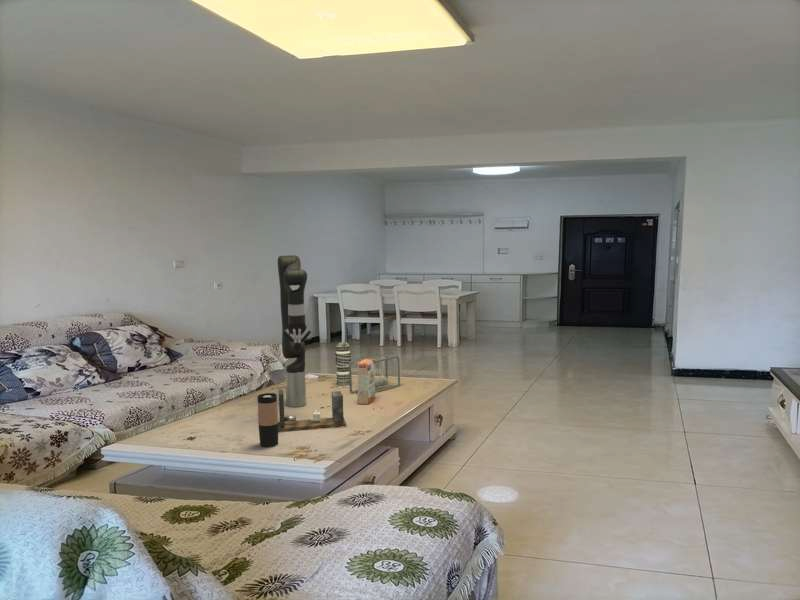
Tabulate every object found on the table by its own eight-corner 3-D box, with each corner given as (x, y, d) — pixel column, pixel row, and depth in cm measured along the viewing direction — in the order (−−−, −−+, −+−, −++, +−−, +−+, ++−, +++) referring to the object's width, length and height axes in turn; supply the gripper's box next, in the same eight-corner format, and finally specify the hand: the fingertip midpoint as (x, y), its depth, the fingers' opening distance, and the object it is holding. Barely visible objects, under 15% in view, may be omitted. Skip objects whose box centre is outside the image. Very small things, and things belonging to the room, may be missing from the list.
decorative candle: (345, 388, 341) (344, 344, 339) (332, 387, 346) (331, 343, 344) (355, 385, 348) (354, 342, 346) (342, 383, 353) (341, 341, 351)
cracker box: (369, 404, 302) (368, 363, 301) (357, 404, 303) (356, 363, 302) (376, 398, 316) (374, 358, 314) (364, 398, 317) (363, 358, 316)
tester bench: (271, 432, 259) (270, 401, 258) (271, 425, 269) (270, 395, 268) (346, 426, 265) (345, 396, 264) (343, 419, 276) (342, 390, 275)
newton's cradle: (363, 396, 320) (362, 363, 319) (349, 394, 327) (348, 361, 326) (400, 386, 343) (399, 355, 342) (386, 384, 350) (386, 353, 348)
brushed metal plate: (280, 426, 260) (278, 394, 259) (279, 421, 269) (278, 390, 268) (296, 425, 262) (295, 393, 260) (295, 419, 270) (294, 389, 269)
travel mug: (260, 442, 246) (258, 393, 244) (279, 441, 246) (277, 392, 245) (258, 448, 238) (255, 397, 237) (277, 447, 239) (275, 397, 237)
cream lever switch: (313, 421, 266) (313, 414, 266) (312, 416, 273) (312, 410, 273) (320, 420, 267) (320, 413, 266) (319, 416, 273) (319, 409, 273)
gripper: (311, 311, 279) (313, 348, 282) (282, 312, 278) (284, 348, 281) (310, 314, 272) (312, 352, 275) (281, 315, 271) (282, 353, 274)
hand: (298, 350), depth 278 cm, fingers closed
